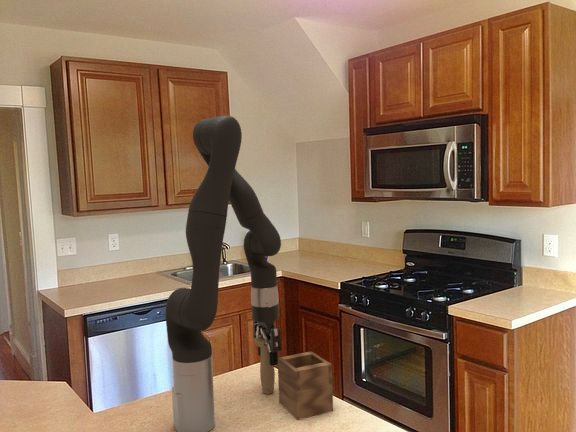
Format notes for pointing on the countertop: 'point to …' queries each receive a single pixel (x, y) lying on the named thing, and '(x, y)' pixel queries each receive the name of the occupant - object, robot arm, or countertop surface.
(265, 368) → the handle
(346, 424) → the countertop surface
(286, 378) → the wooden box
